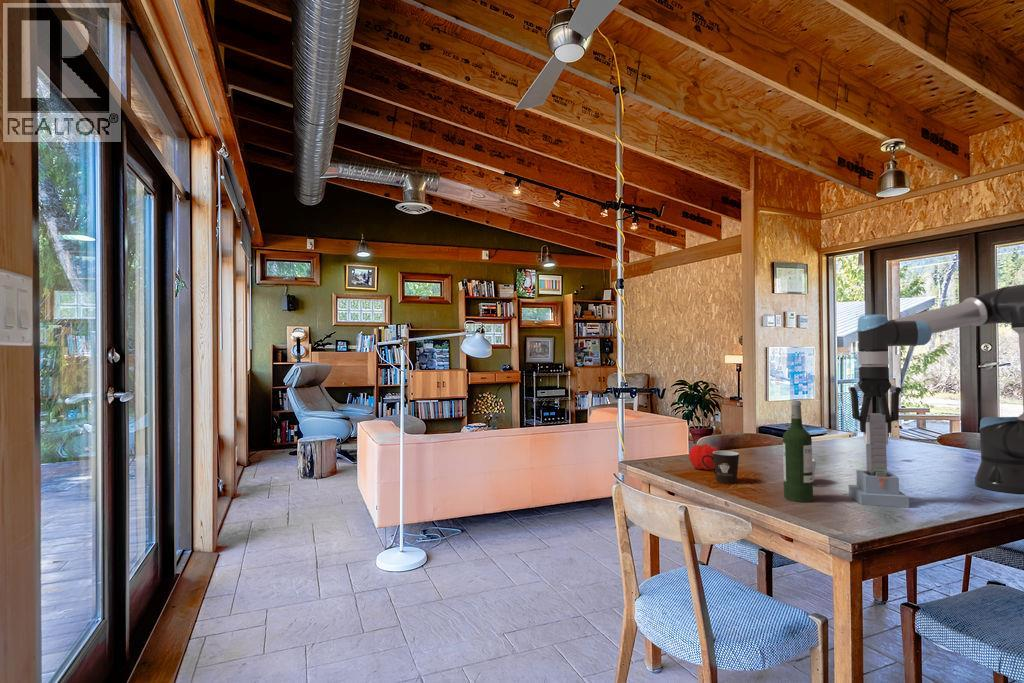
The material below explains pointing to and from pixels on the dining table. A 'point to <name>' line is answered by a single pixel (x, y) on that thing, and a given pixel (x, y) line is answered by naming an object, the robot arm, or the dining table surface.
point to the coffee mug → (724, 466)
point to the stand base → (878, 490)
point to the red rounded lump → (699, 452)
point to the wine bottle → (797, 459)
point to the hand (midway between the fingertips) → (875, 443)
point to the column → (876, 444)
